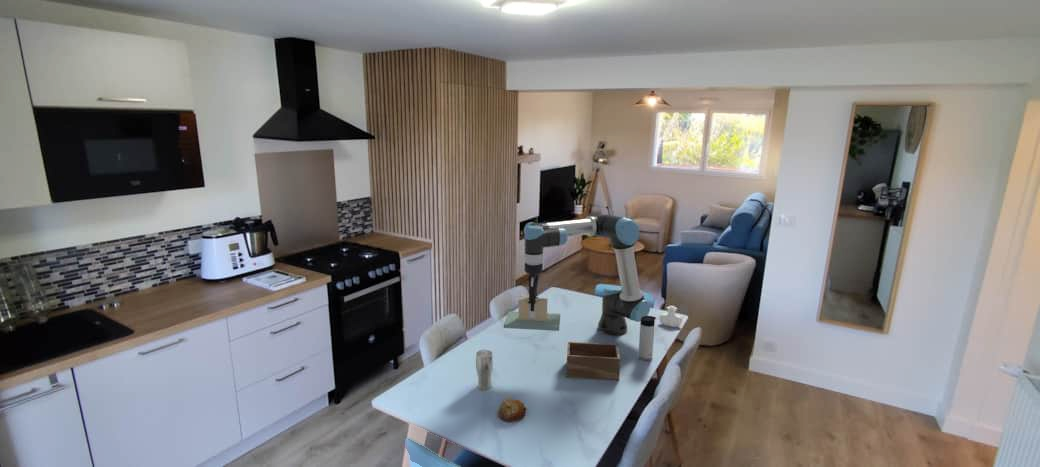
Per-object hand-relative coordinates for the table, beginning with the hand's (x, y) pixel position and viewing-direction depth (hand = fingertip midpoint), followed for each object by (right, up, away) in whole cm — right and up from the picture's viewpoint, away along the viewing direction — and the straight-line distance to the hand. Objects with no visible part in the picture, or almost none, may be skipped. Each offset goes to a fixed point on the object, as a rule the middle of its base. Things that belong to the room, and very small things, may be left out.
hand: (532, 315), depth 207 cm
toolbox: (+26, -25, +4) cm, 36 cm away
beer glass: (-20, -28, -9) cm, 35 cm away
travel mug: (+53, -23, +17) cm, 60 cm away
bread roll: (-8, -32, -28) cm, 43 cm away
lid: (0, -3, +1) cm, 3 cm away
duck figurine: (+76, -14, +55) cm, 95 cm away
